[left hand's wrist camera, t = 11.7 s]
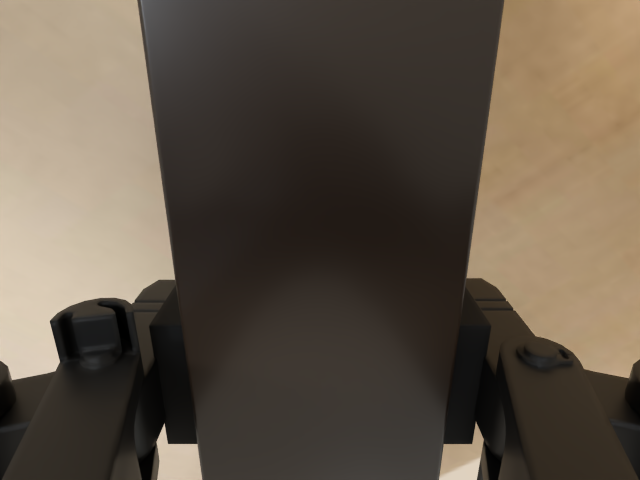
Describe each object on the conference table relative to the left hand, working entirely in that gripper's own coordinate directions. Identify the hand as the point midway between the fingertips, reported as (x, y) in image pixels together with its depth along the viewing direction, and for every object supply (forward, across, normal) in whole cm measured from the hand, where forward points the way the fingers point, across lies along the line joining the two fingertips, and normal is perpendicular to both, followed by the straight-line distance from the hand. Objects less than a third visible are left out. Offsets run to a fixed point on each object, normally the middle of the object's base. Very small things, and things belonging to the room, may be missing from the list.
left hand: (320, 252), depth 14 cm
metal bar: (0, 0, +11) cm, 11 cm away
